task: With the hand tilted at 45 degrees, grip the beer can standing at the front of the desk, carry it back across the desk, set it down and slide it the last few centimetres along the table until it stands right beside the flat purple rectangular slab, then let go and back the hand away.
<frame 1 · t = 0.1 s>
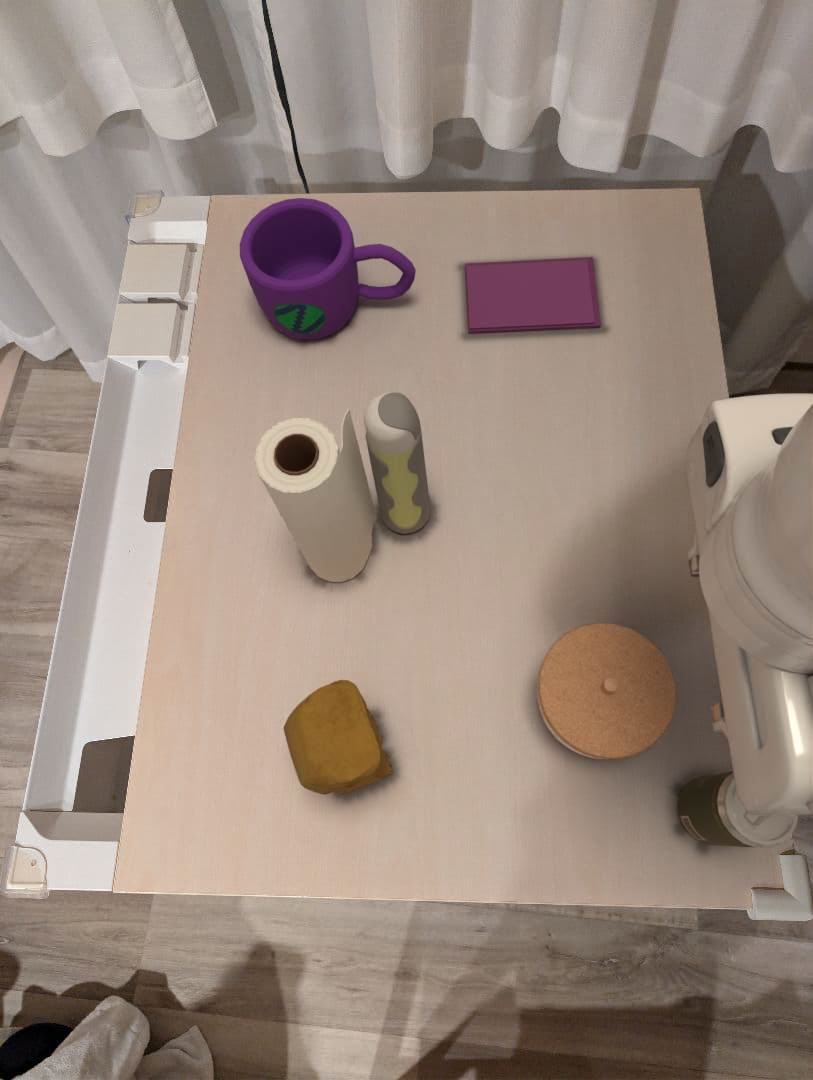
hand: (713, 640, 46), 23 cm above the table, tool pointing down, fingers open, 8 cm apart
mug: (339, 306, 85), on the table
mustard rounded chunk: (352, 756, 68), on the table
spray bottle: (405, 513, 76), on the table
trinket box: (590, 703, 68), on the table
paper towel roll: (344, 553, 75), on the table
flat purple rectangular slab: (531, 296, 84), on the table
beer can: (707, 810, 65), on the table
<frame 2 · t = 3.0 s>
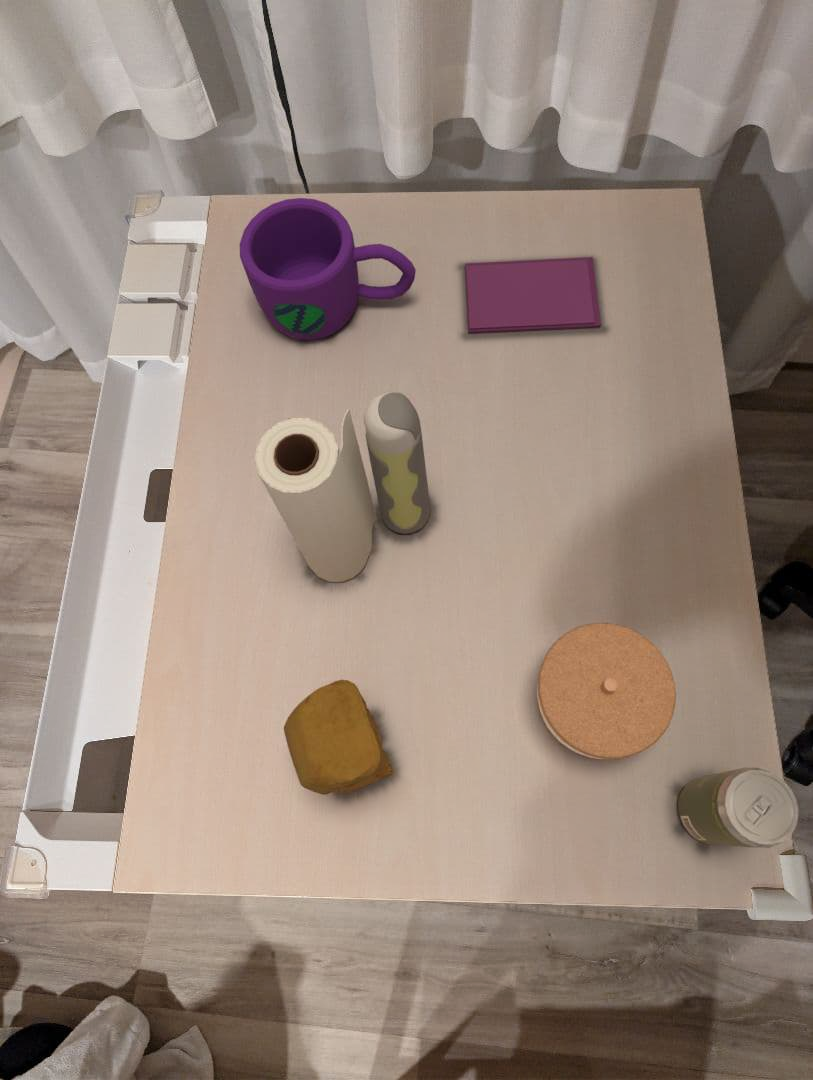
nothing on the table moved.
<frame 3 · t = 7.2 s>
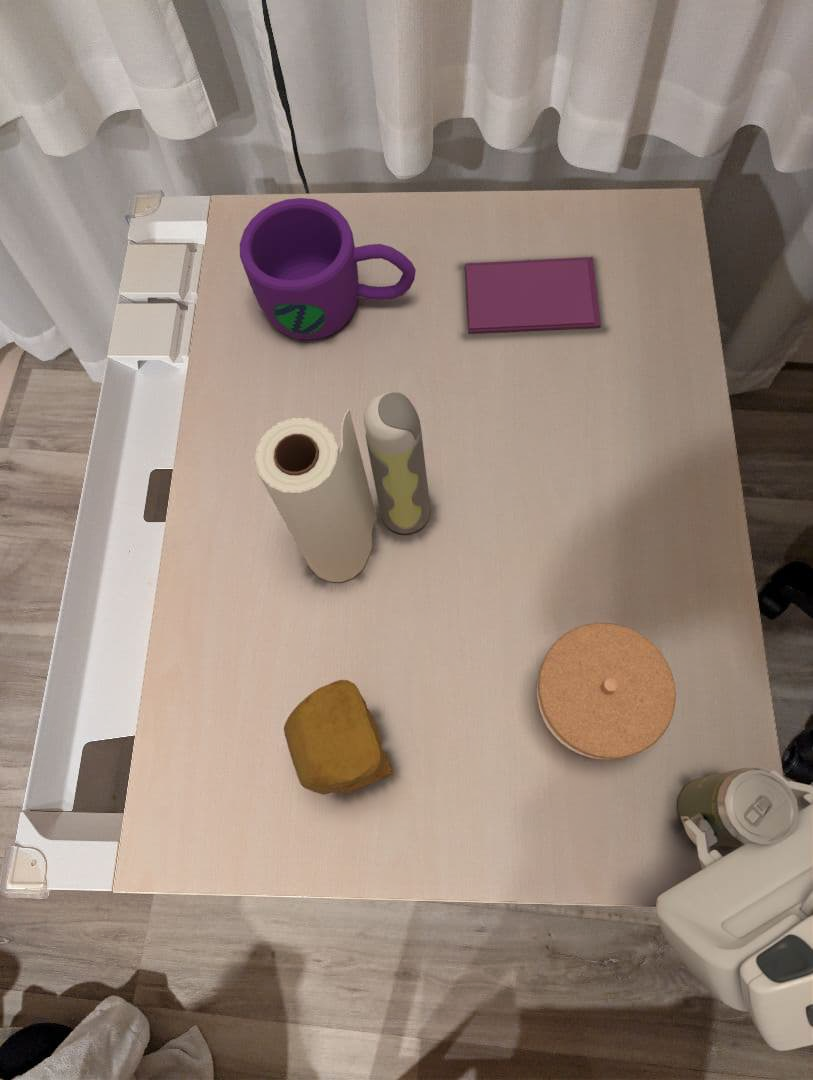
hand: (728, 801, 59), 6 cm above the table, tool tilted 45°, fingers closed on beer can, 5 cm apart
beer can: (707, 811, 65), on the table, touching gripper
everything else where it was.
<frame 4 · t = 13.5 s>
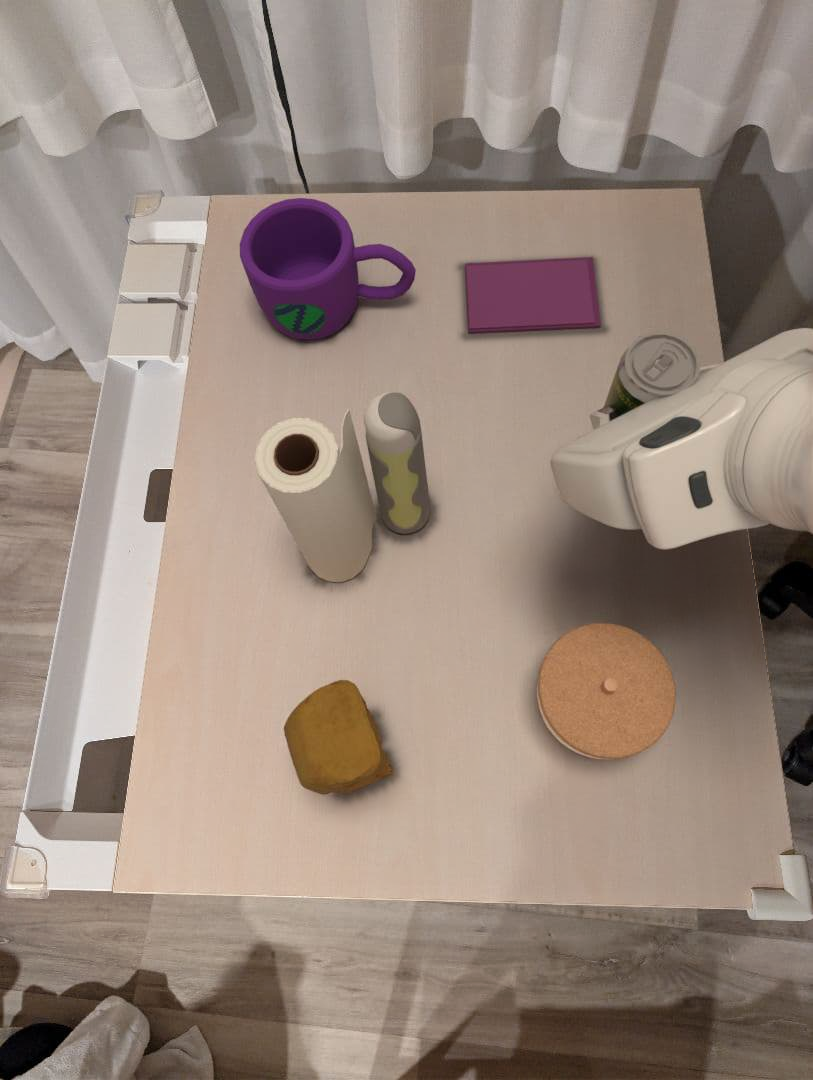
hand: (637, 399, 57), 19 cm above the table, tool tilted 45°, fingers closed on beer can, 5 cm apart
beer can: (624, 447, 63), point 13 cm above the table, touching gripper
everything else where it was.
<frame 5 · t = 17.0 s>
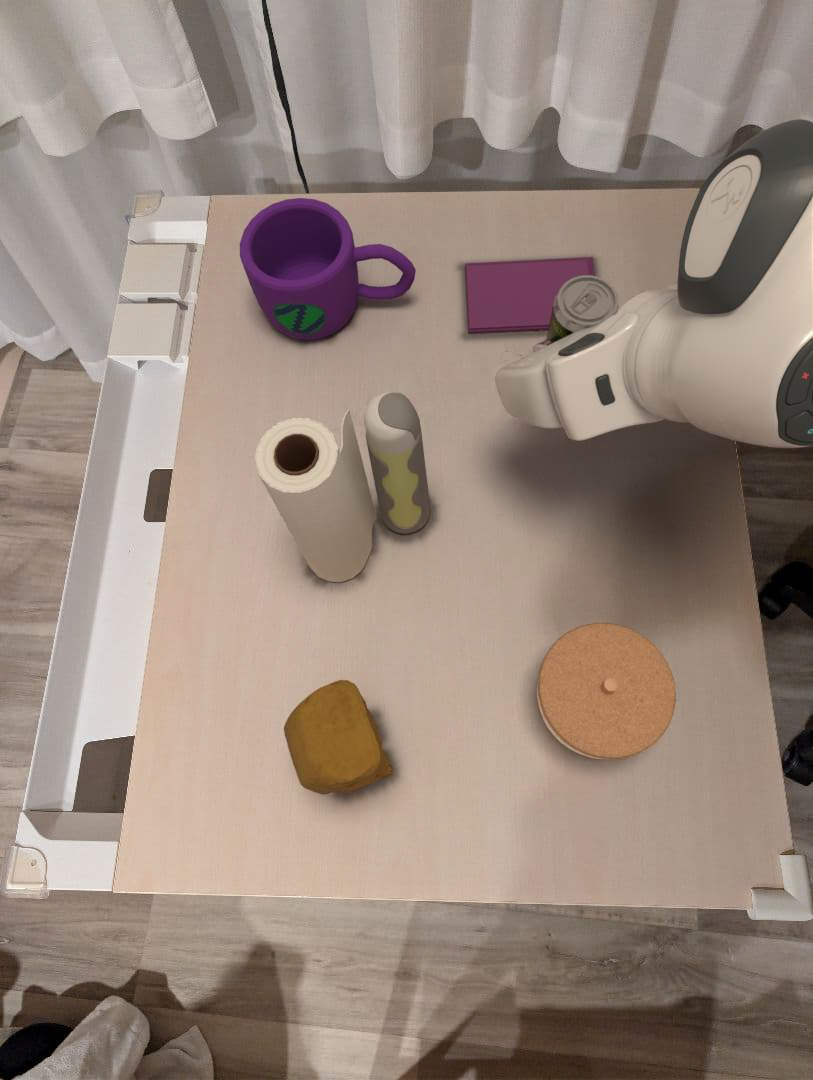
hand: (573, 335, 68), 12 cm above the table, tool tilted 45°, fingers closed on beer can, 5 cm apart
beer can: (566, 381, 74), point 5 cm above the table, touching gripper
everything else where it was.
when the fingers open (6 cm above the table, at t = 19.9 s): beer can stays where it is, on the table.
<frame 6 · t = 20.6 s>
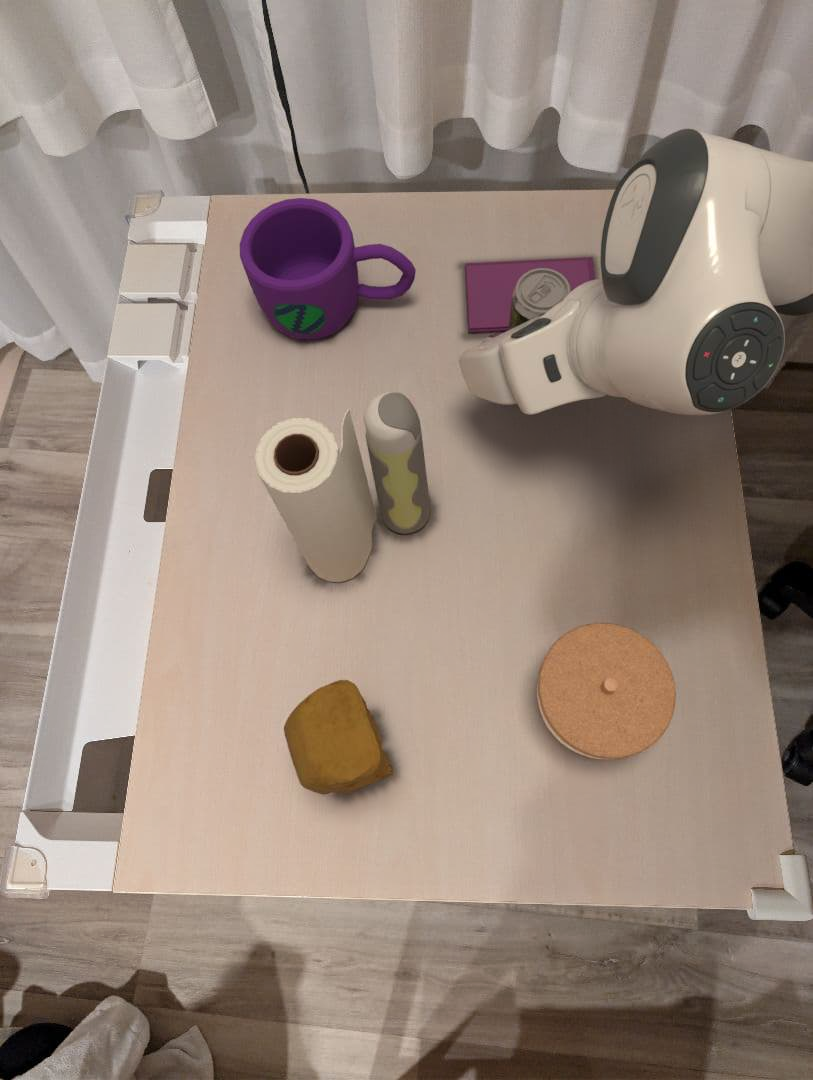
hand: (533, 323, 75), 6 cm above the table, tool tilted 45°, fingers open, 8 cm apart
beer can: (530, 366, 81), on the table
everything else where it was.
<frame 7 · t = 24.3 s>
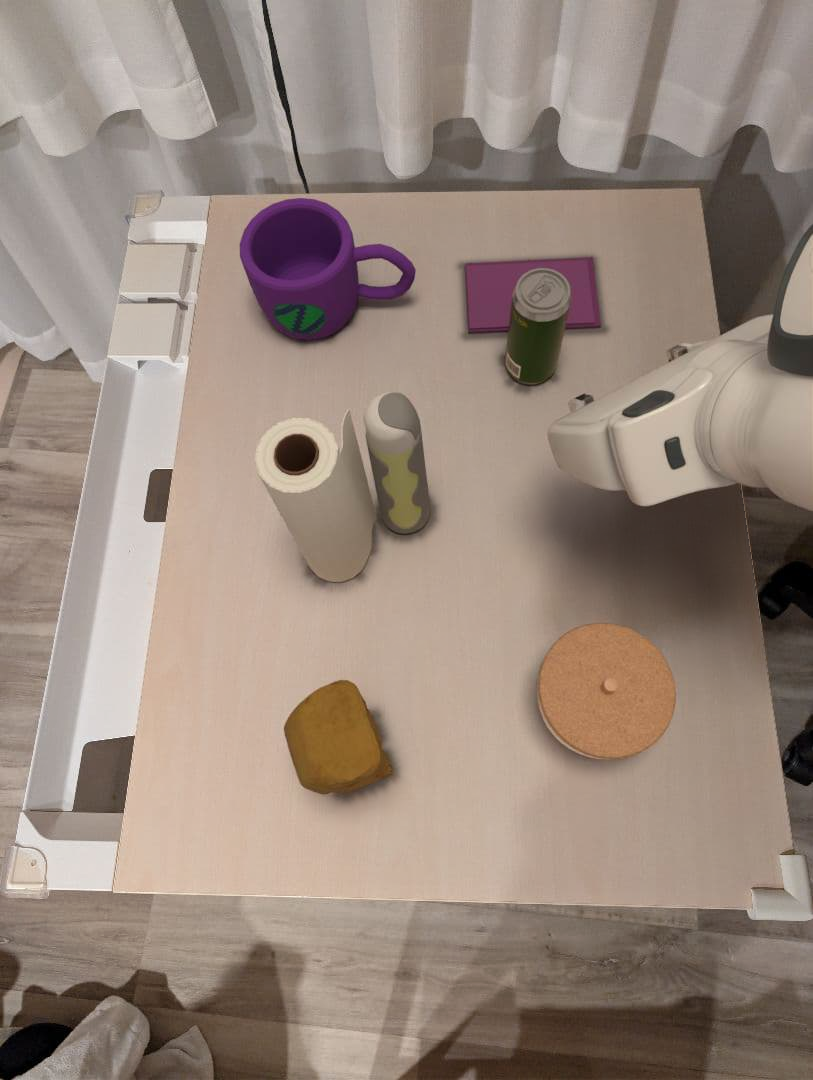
hand: (626, 380, 63), 14 cm above the table, tool tilted 45°, fingers open, 8 cm apart
nothing on the table moved.
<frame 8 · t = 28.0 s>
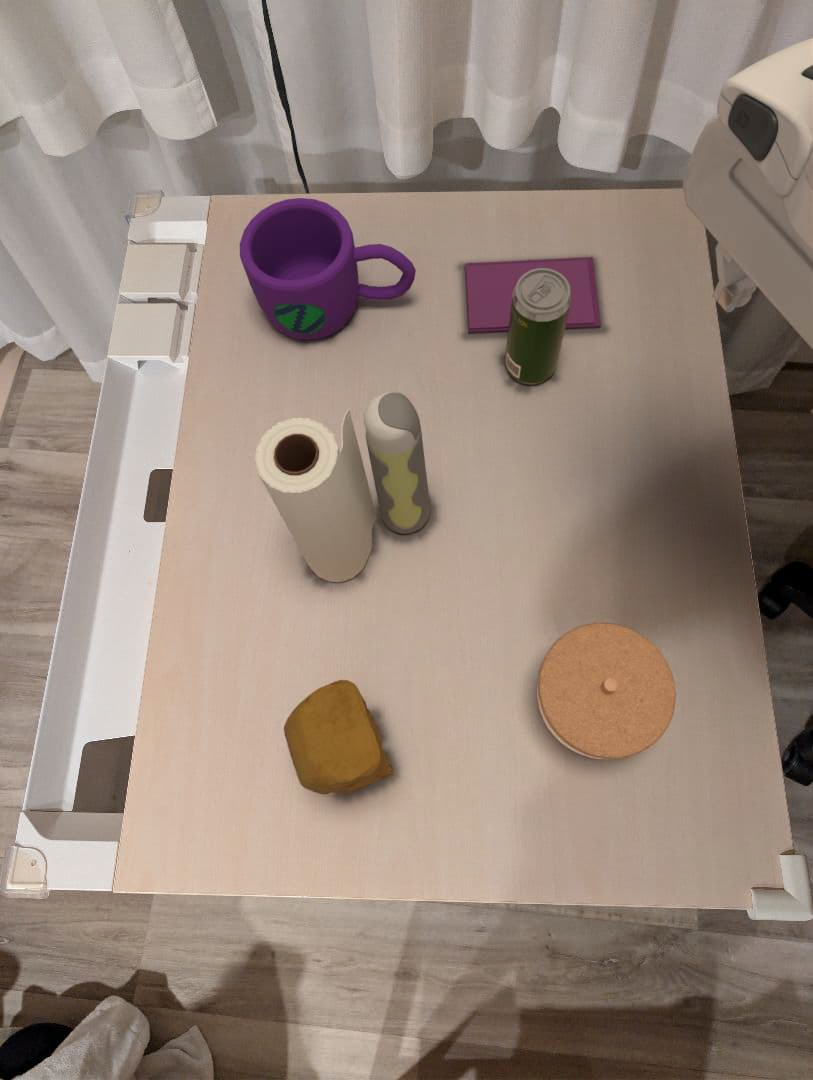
hand: (776, 357, 46), 29 cm above the table, tool pointing down, fingers open, 8 cm apart
nothing on the table moved.
at the end: beer can inside the target area on the table beside the flat purple rectangular slab (0.7 cm from its centre), on the table; beer can tilted 0°; beer can moved 45.8 cm from its start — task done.
